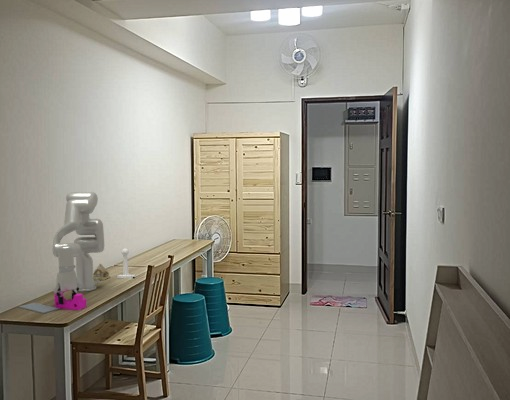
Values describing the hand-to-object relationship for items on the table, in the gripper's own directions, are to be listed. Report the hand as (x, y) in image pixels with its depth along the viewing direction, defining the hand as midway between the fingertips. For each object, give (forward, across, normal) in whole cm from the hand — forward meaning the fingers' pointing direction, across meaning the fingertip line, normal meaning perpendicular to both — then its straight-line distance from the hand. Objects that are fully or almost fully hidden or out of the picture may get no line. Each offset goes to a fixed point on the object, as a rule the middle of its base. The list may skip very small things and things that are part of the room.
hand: (67, 302), depth 288 cm
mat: (+3, +10, -11) cm, 15 cm away
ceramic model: (+3, -56, -43) cm, 70 cm away
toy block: (+3, 0, +2) cm, 3 cm away
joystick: (+3, -66, -29) cm, 72 cm away
